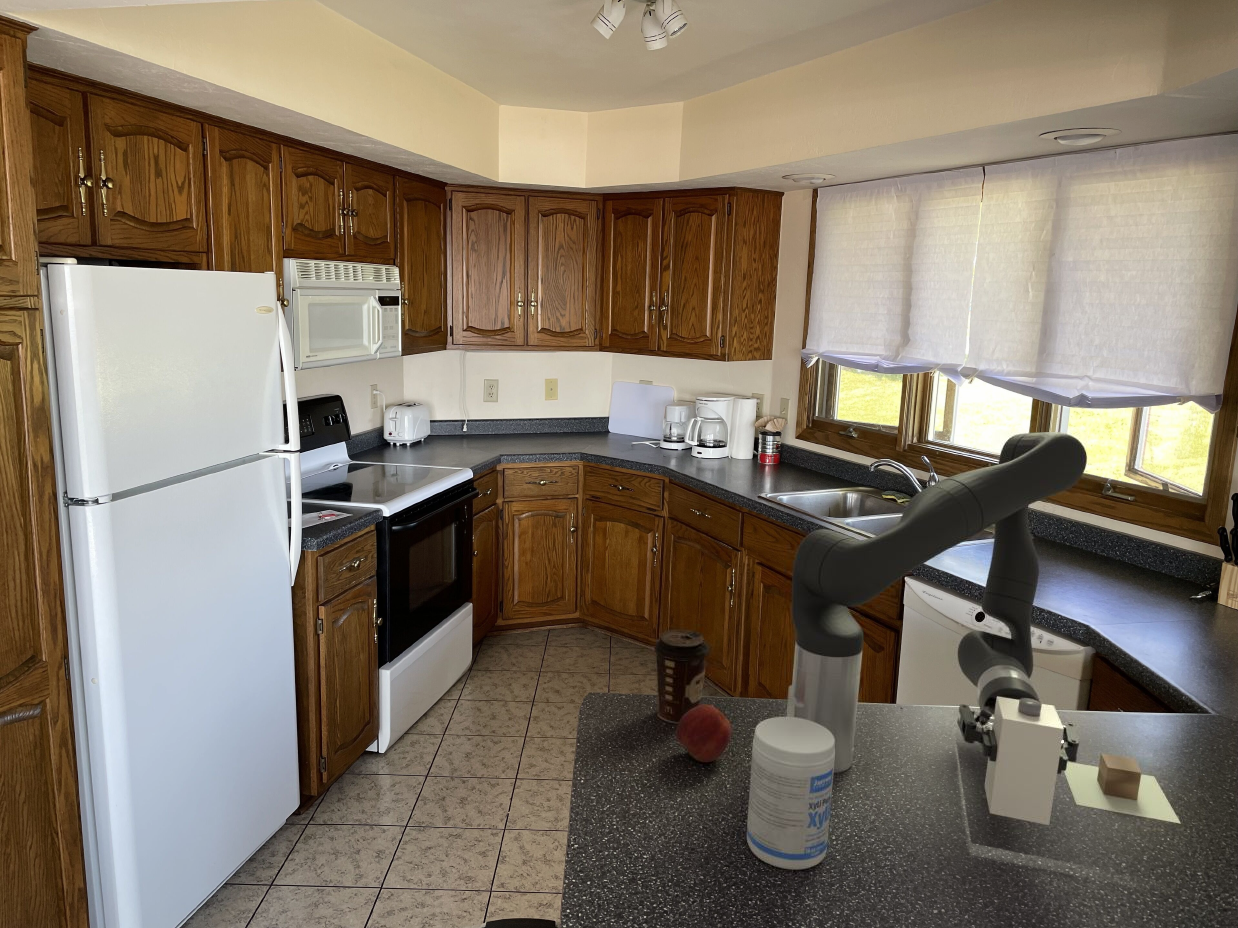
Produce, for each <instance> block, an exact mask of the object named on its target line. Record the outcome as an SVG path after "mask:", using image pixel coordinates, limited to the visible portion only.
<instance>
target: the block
mask: <svg viewBox="0 0 1238 928" xmlns="http://www.w3.org/2000/svg"><path fill="white" fill-rule="evenodd" d="M1098 764H1099V766H1098V767H1099V770H1098V776H1097V781H1098V783H1099V785H1100V788H1101V790H1102V792H1103V794H1104V795H1108V796H1114V797H1119V798H1125V799H1131V800H1136V801H1137V798H1138V792H1139V786H1140V779H1141V774H1142V771H1141V769H1140V767H1139V766H1138V764H1137V762H1136V760H1135V759H1134V758H1131V757H1127V756H1122V755H1121V756H1120V755H1115V754H1114V755H1113V754H1109V753H1103V752H1101V753H1100V756H1099V763H1098Z"/></svg>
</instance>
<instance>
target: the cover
mask: <svg viewBox="0 0 1238 928" xmlns="http://www.w3.org/2000/svg"><path fill="white" fill-rule="evenodd" d="M1063 726H1064V725H1063V724H1062V721H1061V719H1060V717H1059V714H1058V712H1057V709H1056V707H1055V705H1050V704H1044V703H1042V702H1041V701H1040V702H1038V701H1036V700H1033V699H1029V698H1021V699H1020V700H1016V699H1010V698H1004V697H998V696H997V699H996V706H995V714H994V721H993V727H994V731H993V732H995V736H996V741H997V745H998V749H997V756H996V762H993V761H989V757H988V756H987V758H988V759H987V765H986V766H987V767H986V772H985V780H984V781H985V782H984V790H985V795H986V800H987V801H986V802H987V805H988V811H989V814H993V815H997V816H1002V817H1007V818H1012V819H1016V820H1021V821H1026V822H1032V823H1036V824H1041V825H1046V826H1050V821H1051V815H1052V809H1053V801H1054V796H1055V791H1056V790H1055V788H1056V782H1057V778H1058V777H1057V775H1058V774H1057V770H1058V764H1059V757H1060V751H1061V744H1062V738H1063V731H1064V728H1063Z"/></svg>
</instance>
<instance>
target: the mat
mask: <svg viewBox="0 0 1238 928" xmlns="http://www.w3.org/2000/svg"><path fill="white" fill-rule="evenodd" d="M1098 770H1099V766H1095V765H1094V766H1093V765H1089V764H1088V765H1087V764H1083V763H1076V762H1071V761H1068V762H1067V768H1066V771H1063V772H1064V775H1065V778H1066V781H1067V783H1068V786H1069V789H1070V791H1071V793H1072V797H1073V799H1074V801H1075V802H1074V803H1075V804H1076V805H1077V806H1082V807H1088V808H1093V809H1098V810H1102V811H1103V810H1104V811H1109V812H1114V813H1120V814H1125V815H1129V816H1131V815H1132V816H1137V817H1142V818H1146V819H1147V818H1148V819H1152V820H1158V821H1164V822H1169V823H1174V824H1181V821H1180V819H1179V817H1178V816H1177V814H1176V813H1175V811H1174V808H1173V807H1172V805H1171V803H1170V802H1169V800H1168V799H1167V797H1166V795H1165V793H1164V791H1163V790H1162V788H1161V786H1160V784H1159V783H1158V781H1157V779H1156V778H1155V776H1152V775H1146V774H1142V773H1141V779H1140V786H1139V792H1138V798H1137V801H1136V800H1131V799H1125V798H1119V797H1114V796H1108V795H1104V794H1103V792H1102V790H1101V788H1100V785H1099V783H1098V781H1097V776H1098Z"/></svg>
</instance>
